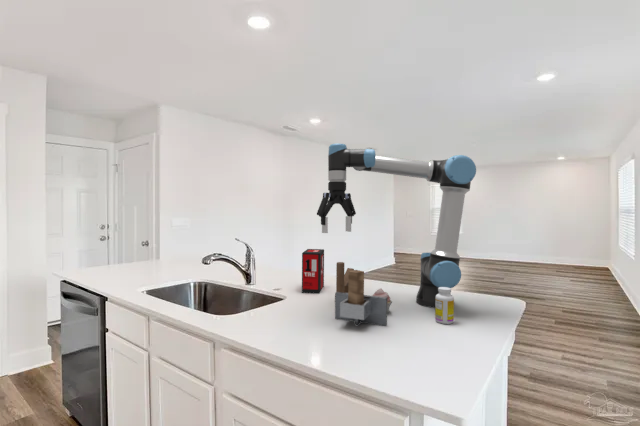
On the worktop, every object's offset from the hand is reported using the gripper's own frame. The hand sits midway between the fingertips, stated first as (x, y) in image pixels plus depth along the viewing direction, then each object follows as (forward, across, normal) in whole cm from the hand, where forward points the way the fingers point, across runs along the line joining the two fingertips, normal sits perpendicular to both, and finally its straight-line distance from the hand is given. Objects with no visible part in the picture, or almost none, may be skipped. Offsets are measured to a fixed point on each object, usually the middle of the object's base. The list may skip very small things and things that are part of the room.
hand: (336, 232), depth 153 cm
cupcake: (+33, -11, +15) cm, 38 cm away
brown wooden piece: (+33, -13, -8) cm, 36 cm away
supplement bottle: (+33, -21, +38) cm, 54 cm away
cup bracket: (+33, +9, +19) cm, 39 cm away
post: (+28, +9, +19) cm, 35 cm away
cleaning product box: (+33, -15, -34) cm, 49 cm away
